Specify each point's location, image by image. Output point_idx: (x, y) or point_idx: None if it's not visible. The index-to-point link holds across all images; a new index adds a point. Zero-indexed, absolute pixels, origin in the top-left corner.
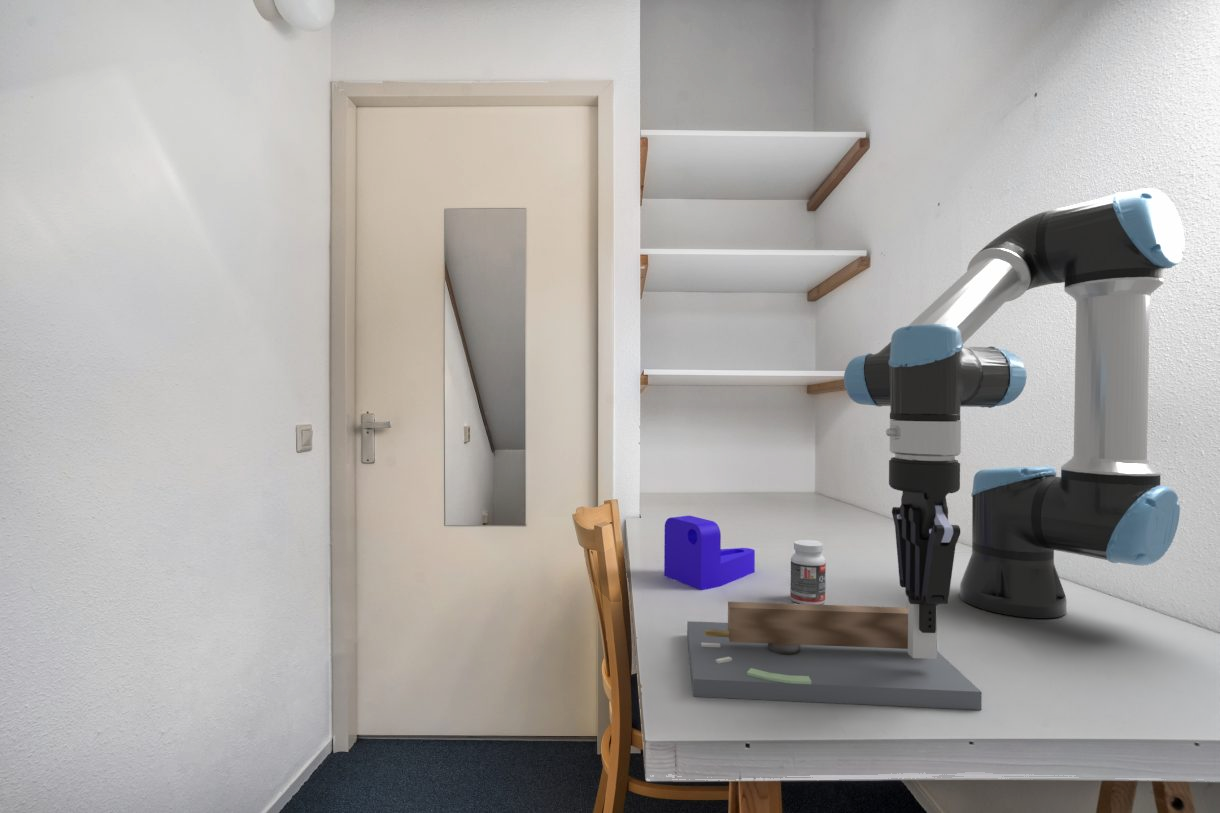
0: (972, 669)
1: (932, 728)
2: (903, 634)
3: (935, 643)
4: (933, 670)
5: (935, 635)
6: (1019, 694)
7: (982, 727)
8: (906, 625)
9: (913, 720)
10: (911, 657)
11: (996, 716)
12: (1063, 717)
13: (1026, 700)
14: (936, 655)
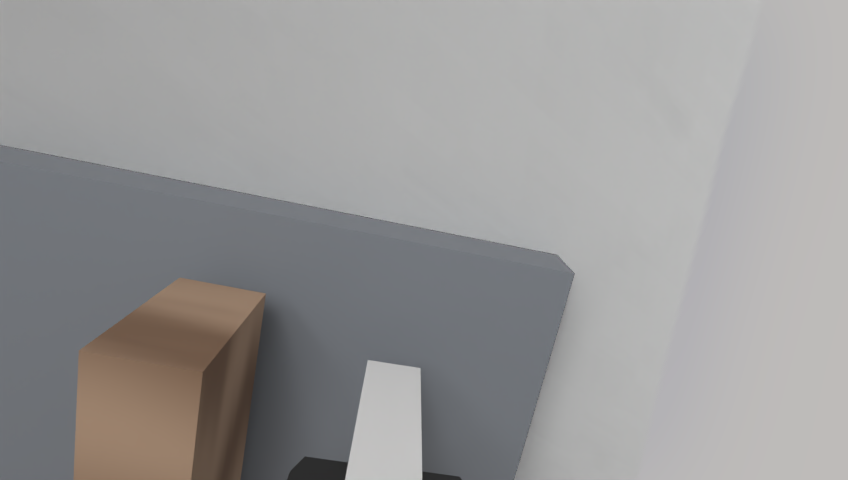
0: (247, 57)
1: (622, 450)
2: (230, 425)
3: (418, 408)
4: (388, 331)
5: (418, 432)
6: (472, 32)
7: (647, 320)
8: (217, 443)
9: (575, 473)
10: (264, 342)
11: (599, 235)
12: (651, 9)
13: (519, 43)
14: (419, 375)
